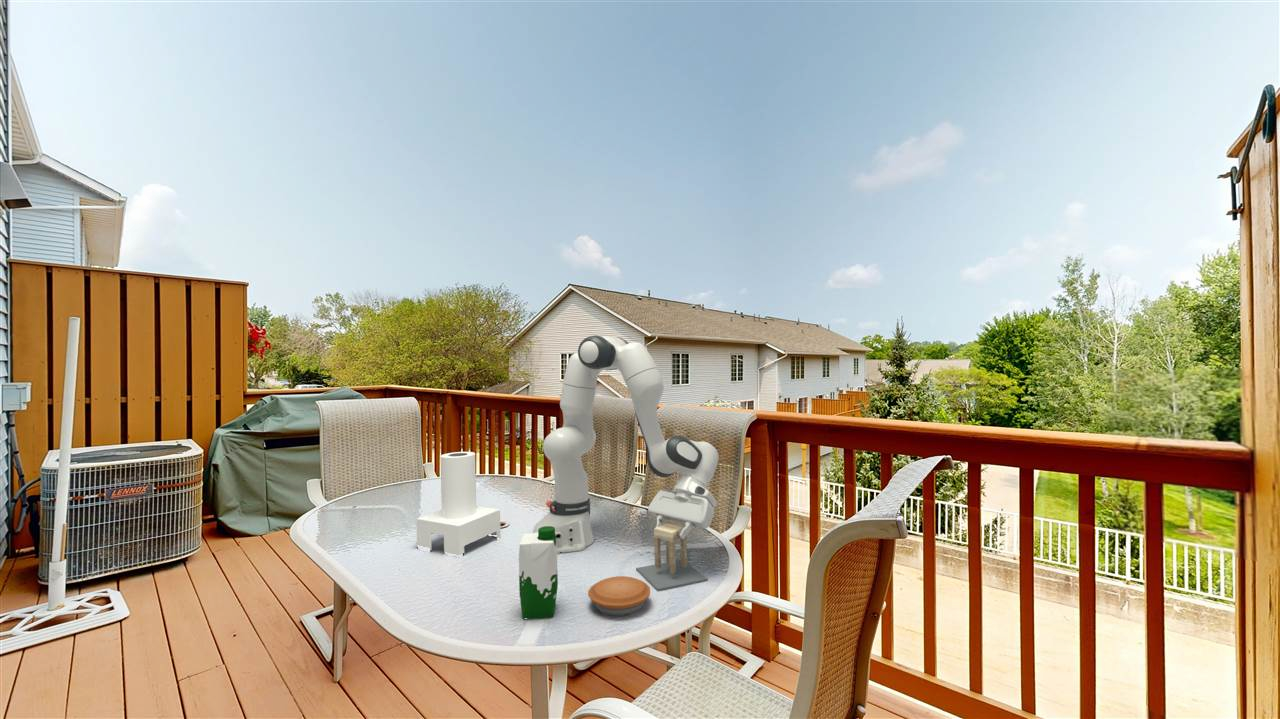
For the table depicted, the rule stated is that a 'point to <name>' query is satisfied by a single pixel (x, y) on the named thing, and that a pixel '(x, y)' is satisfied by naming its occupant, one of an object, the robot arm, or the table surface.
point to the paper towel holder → (458, 508)
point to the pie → (619, 595)
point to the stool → (669, 545)
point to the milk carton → (538, 573)
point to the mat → (671, 576)
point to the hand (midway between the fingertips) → (668, 534)
